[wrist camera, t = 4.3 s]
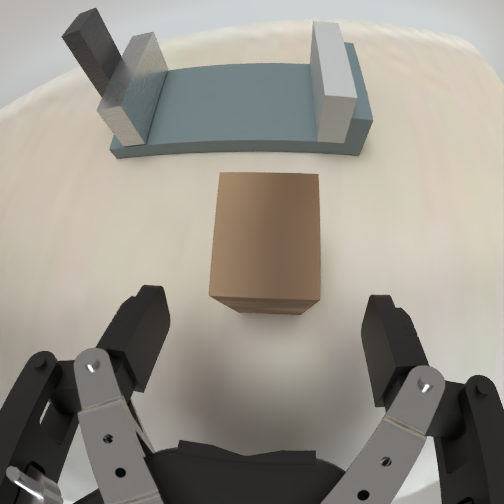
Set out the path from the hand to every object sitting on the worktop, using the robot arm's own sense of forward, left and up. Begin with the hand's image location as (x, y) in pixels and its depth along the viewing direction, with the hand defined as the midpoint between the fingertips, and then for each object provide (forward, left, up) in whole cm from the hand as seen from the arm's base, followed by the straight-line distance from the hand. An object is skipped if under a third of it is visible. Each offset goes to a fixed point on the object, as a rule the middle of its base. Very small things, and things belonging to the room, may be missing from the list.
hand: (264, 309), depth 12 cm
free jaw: (-17, +12, -6) cm, 21 cm away
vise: (-9, +15, -8) cm, 19 cm away
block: (-1, +3, -8) cm, 9 cm away
